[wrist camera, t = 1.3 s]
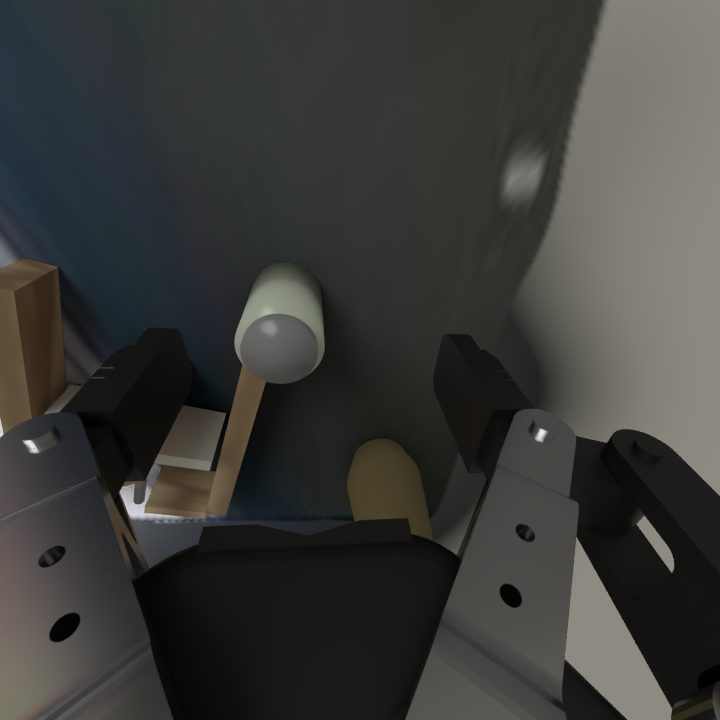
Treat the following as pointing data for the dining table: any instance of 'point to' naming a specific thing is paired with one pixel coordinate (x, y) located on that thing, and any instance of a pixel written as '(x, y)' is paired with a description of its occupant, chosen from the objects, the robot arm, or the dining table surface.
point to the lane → (48, 382)
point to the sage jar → (282, 325)
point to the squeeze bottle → (387, 486)
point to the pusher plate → (175, 438)
